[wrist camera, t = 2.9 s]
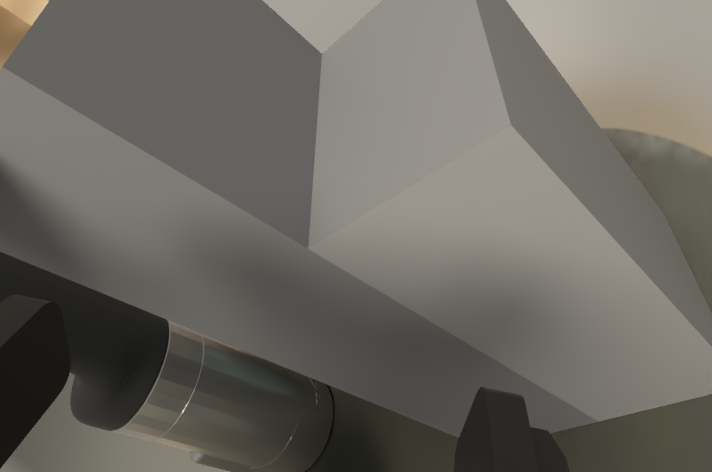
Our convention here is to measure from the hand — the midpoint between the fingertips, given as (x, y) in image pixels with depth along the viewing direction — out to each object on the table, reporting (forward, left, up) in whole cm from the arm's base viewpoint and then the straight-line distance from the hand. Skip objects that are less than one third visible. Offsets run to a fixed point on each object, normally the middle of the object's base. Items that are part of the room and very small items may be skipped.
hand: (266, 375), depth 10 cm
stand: (+3, +13, -28) cm, 31 cm away
